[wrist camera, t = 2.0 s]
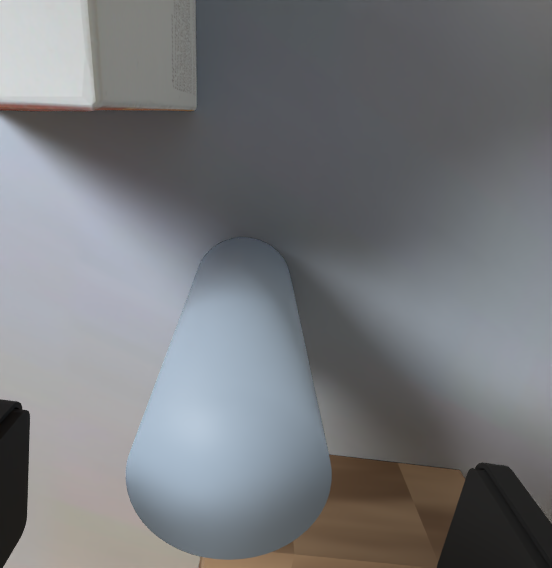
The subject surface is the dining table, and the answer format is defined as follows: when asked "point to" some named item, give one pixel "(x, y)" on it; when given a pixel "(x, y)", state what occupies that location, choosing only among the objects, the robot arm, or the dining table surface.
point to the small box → (98, 55)
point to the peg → (233, 416)
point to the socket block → (371, 519)
